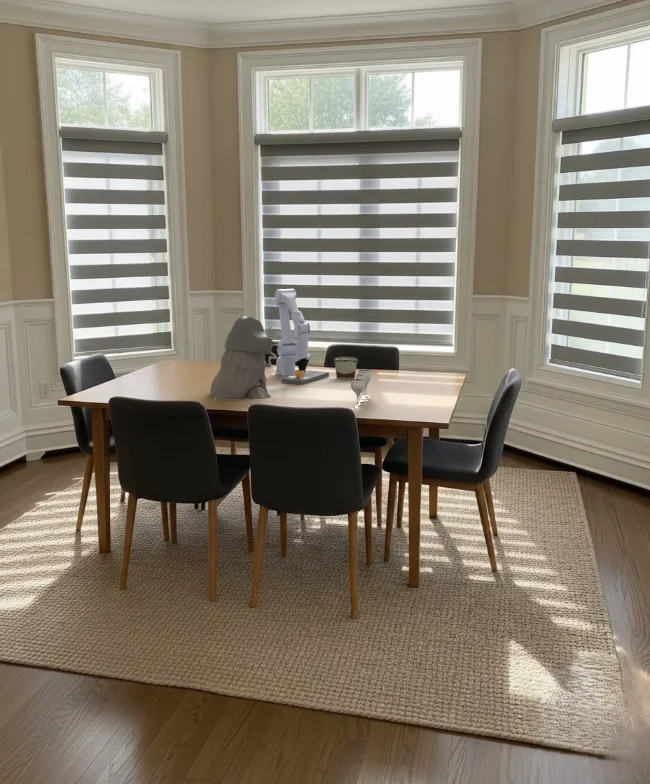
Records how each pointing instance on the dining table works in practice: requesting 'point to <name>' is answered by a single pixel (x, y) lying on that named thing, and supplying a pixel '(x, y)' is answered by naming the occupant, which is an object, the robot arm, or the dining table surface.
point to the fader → (299, 373)
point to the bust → (244, 362)
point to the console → (305, 377)
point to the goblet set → (361, 383)
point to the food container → (345, 367)
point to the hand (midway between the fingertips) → (302, 373)
